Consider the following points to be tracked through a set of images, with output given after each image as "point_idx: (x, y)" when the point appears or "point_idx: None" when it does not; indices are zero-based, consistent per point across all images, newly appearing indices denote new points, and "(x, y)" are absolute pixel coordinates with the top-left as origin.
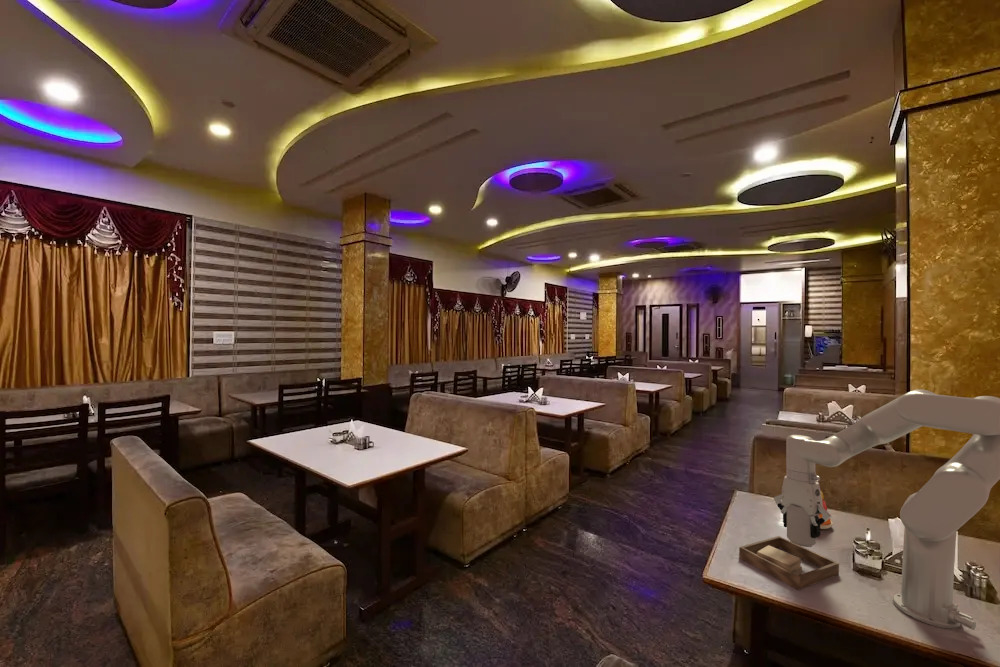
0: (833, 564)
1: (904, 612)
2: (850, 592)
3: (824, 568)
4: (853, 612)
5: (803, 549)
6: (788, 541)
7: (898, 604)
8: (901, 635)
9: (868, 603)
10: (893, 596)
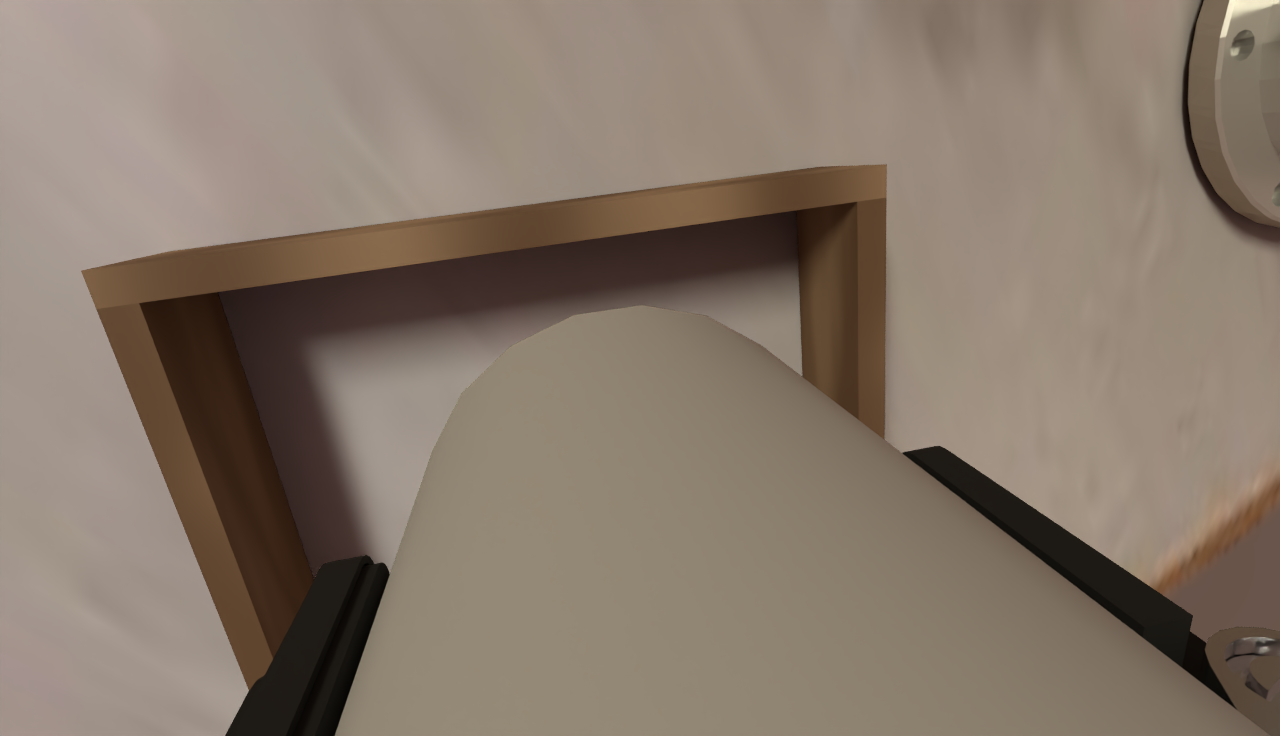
0: (874, 260)
1: (1263, 223)
2: (990, 347)
3: (883, 438)
4: (1087, 543)
5: (503, 251)
6: (284, 281)
7: (1261, 206)
8: (1276, 474)
9: (1100, 353)
10: (1218, 112)
